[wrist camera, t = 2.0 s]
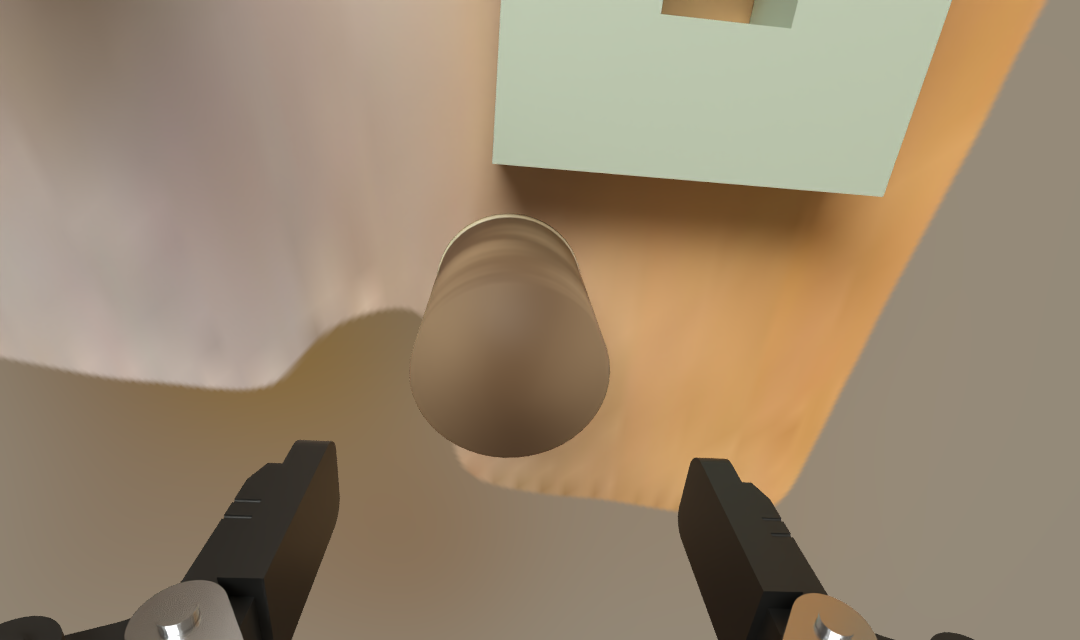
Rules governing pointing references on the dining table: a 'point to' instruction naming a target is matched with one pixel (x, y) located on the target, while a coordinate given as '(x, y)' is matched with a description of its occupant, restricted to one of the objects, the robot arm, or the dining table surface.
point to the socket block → (714, 90)
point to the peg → (509, 341)
